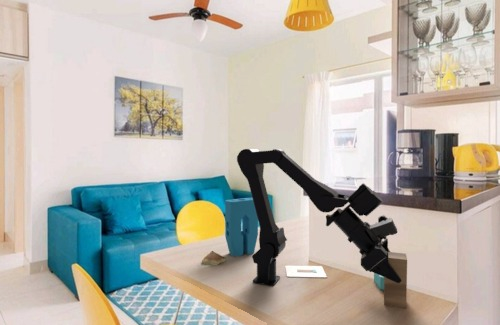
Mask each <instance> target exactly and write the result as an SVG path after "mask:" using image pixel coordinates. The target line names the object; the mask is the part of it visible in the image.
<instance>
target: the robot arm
mask: <svg viewBox="0 0 500 325" xmlns="http://www.w3.org/2000/svg"><path fill="white" fill-rule="evenodd" d="M236 162H237V164H238V167H239V169H240V171H241V173H242V175H243V176H244V177H245V178H246V180H247V182H248V187H249V190H250V195H251V198H253V202H254V206H255V210H256V214H257V218H258V226H259V233H258V242H259V249H258V250H257V251H255V252H254V253H253V255H252V256H251V258H252V261H253V263H254V264H256V276H255V277H254V278H253V279H252V283H255V284H258V285H259V284H260V285H267V286H272V287H273V286H275V285H276V284H277V282H278V281H279V280H280V278H281V275H277V259H276V258H278V257H279V256H280V254H281V253H283V251H284V249H285V248H286V241H288V238H287V237H286V236H285V230H284V229H285V228H284V227H283V226H282V227H280V228H279V226H278V225H277V224H276V222H275V218H274V214H273V211H272V206H271V203H270V199H269V198H270V197H269V195H268V192H267V187H266V183H265V179H264V171H265V170H264V169H265V164H274V165H276V166H277V167H278V168H279V169H280V170H281V171H282V172H283V173H284V174H285V175H286V176H288V177H289V178H291V180H292V181H294V182H295V184H297V185H298V186H299V187H300V188H301V189H303V190H304V192H305V193H306V195H307V196H308V199H309V200H310V201H311V202H312V203H313V205H314V206H315V207H316V208H317V210H318V211H320V212H322V213H330V212H333V211H334V210H335V209H336V210H335V211H334V212H333V213H331V214H326V215H325V220H326V223H325V226H326V227H329V226H331V225H332V224H333V223H334V225H335V226H336V227H338V229H339V230H340V231H341V232H342V233H343V234H344V235H345V236H346V237H347V241H348V242H349V243H353V245H355V246H356V247H357V249H358V250H359V253H360V254H361V257H360V266H361V267H362V268H363V269H364V270H365V272H369V273H371V272H372V273H373V274H374V273H376V274H378V275H381V276H383V277H385V278H387V279H390V280H392V281H394V282H396V283H400V282H401V281H402V280H401V278H400V277H399V276H398V274H397V273H396V271H395V270H394V269H393V267H392V266H391V264H390V263H389V261H388V252H391V251H390V249H389V241H388V240H389V239H388V238H387V237H388V236H394V235H397V233H398V228H397V226H396V224H395V222H394V220H393V218H392V217H389V218H388V217H386V216H385V215H380V216H378V219H377V221H378V222H375V223H372V224H370V223H369V222H368V221H363V220H362V219H361V218H360V217H362V216H365V217H368V216H369V215H370V214H371V213H373V211H375V210H376V209H377V208H378V207H380V206H381V205H382V204H383V203H384V200H383V199H382V198H381V197H380V196H379V194H377V193H376V192H375V190H372V189H371V187H369V186H367V185H366V184H365V183H364V182H363V183H361V185H359V186H358V187H357V189H356V190H355V191H353V193H351V194H350V195H348V194H344V193H342V194H341V193H338V192H337V190H335V189H333V188H332V187H330V186H328V185H326V184H325V183H323V182H321V181H319V180H318V179H315V178H314V177H313V176H312V175H311V174H310V173H308V172H307V171H306V170H305V169H303V167H302V166H300V165H299V163H297V162H296V161H295V160H293V159H292V158H291V157H290V156H289V155H288V154H286V152H285V151H284V150H283V149H280V148H276V149H275V148H274V149H272V150H261V151H260V150H259V149H256V148H245V149H242V150H240V151H239V153H238V155H237V156H236ZM348 203H349V204H348ZM347 204H348V205H347ZM346 205H347V206H346ZM345 206H346V207H345ZM343 207H344V208H343ZM341 208H343V209H341ZM386 251H387V252H386Z"/></svg>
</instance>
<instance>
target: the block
mask: <svg viewBox="0 0 500 325" xmlns="http://www.w3.org/2000/svg"><path fill="white" fill-rule="evenodd" d="M224 203H225V205H224V206H225V207H224V209H225V213H224V216H225V217H224V218H225V220H224V222H225V223H224V225H225V231H224V233H225V235H224V236H225V241H226V243H227V248H228V251H229V255H231V256H233V257H241V256H244V253H245V254H247V255H251V254H255V250H256V246H257V240H258V238H259V221H258V218H257V214H256V210H255V206H254V202H253V198H252V197H244V198H233V199H226V200H224Z"/></svg>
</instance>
